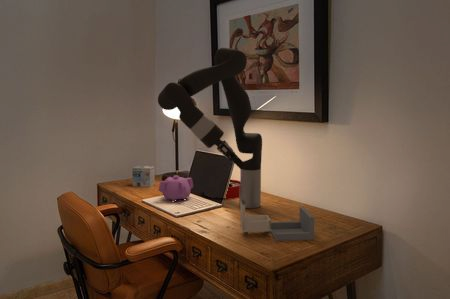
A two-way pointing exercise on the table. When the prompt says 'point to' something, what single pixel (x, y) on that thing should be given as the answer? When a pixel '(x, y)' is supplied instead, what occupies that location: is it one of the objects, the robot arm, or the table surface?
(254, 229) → the toy cart
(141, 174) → the light bulb box
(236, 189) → the toy clock
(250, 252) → the table surface
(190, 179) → the pot
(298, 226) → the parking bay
